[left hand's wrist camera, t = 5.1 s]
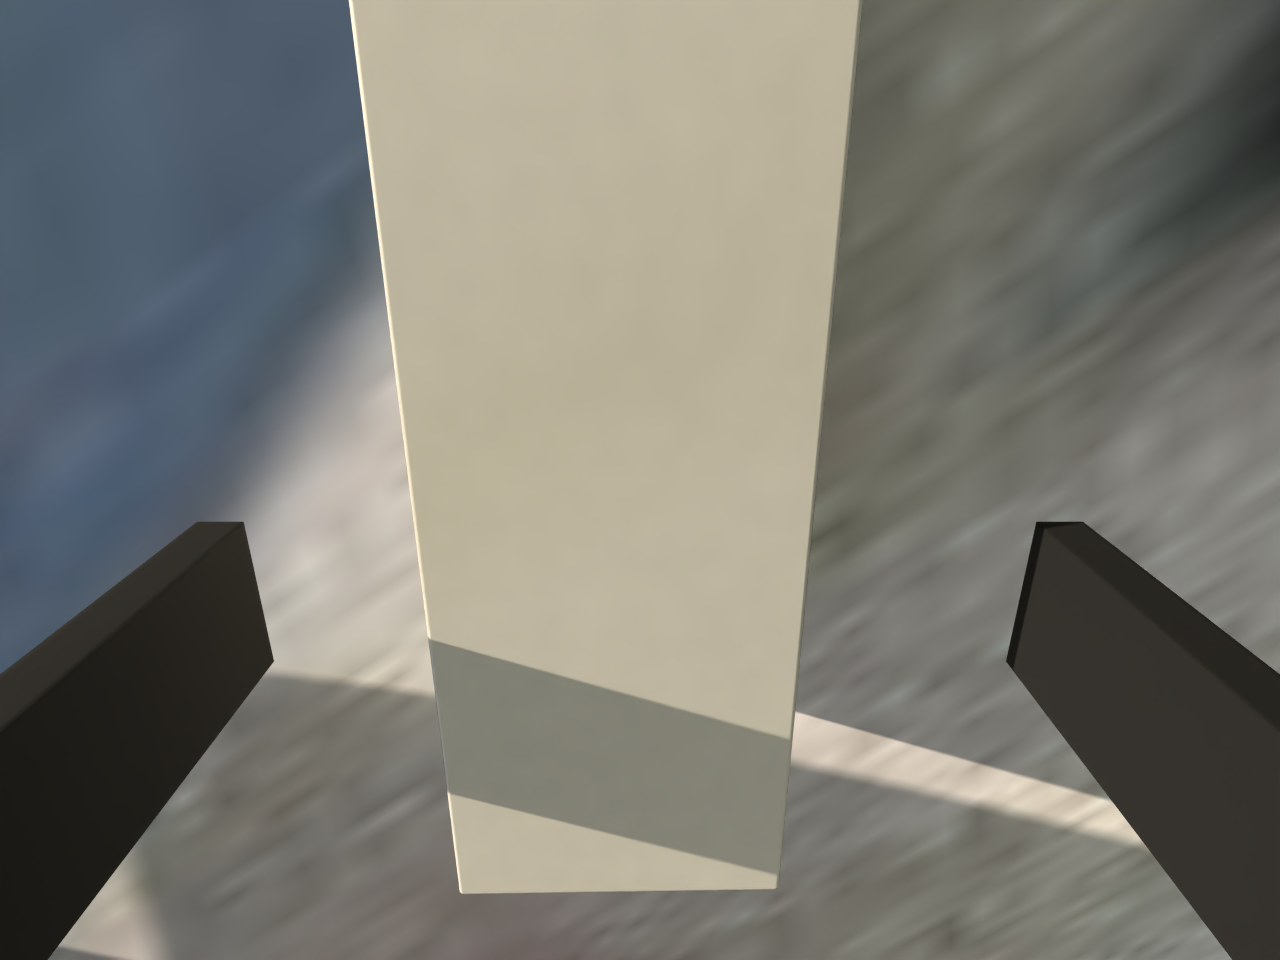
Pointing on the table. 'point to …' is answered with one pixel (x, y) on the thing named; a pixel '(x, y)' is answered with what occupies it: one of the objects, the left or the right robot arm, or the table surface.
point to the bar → (611, 410)
